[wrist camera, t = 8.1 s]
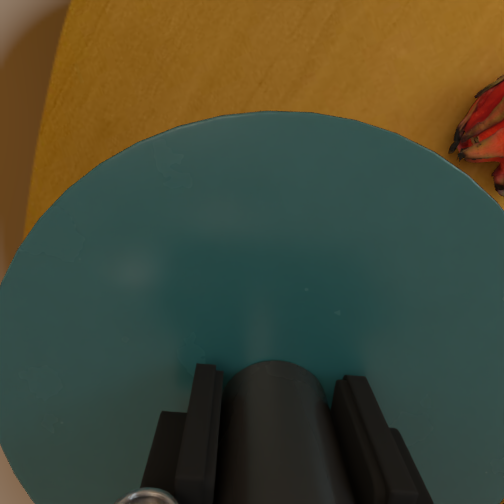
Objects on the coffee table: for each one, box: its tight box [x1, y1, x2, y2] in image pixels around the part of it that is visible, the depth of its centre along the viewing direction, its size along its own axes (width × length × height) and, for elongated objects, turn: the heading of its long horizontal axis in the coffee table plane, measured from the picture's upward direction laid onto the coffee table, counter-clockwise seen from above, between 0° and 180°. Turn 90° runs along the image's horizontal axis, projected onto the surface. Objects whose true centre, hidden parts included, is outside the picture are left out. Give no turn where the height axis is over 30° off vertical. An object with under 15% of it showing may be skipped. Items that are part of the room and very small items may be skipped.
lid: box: [0, 111, 504, 504], centre depth 11 cm, size 16×16×7 cm
